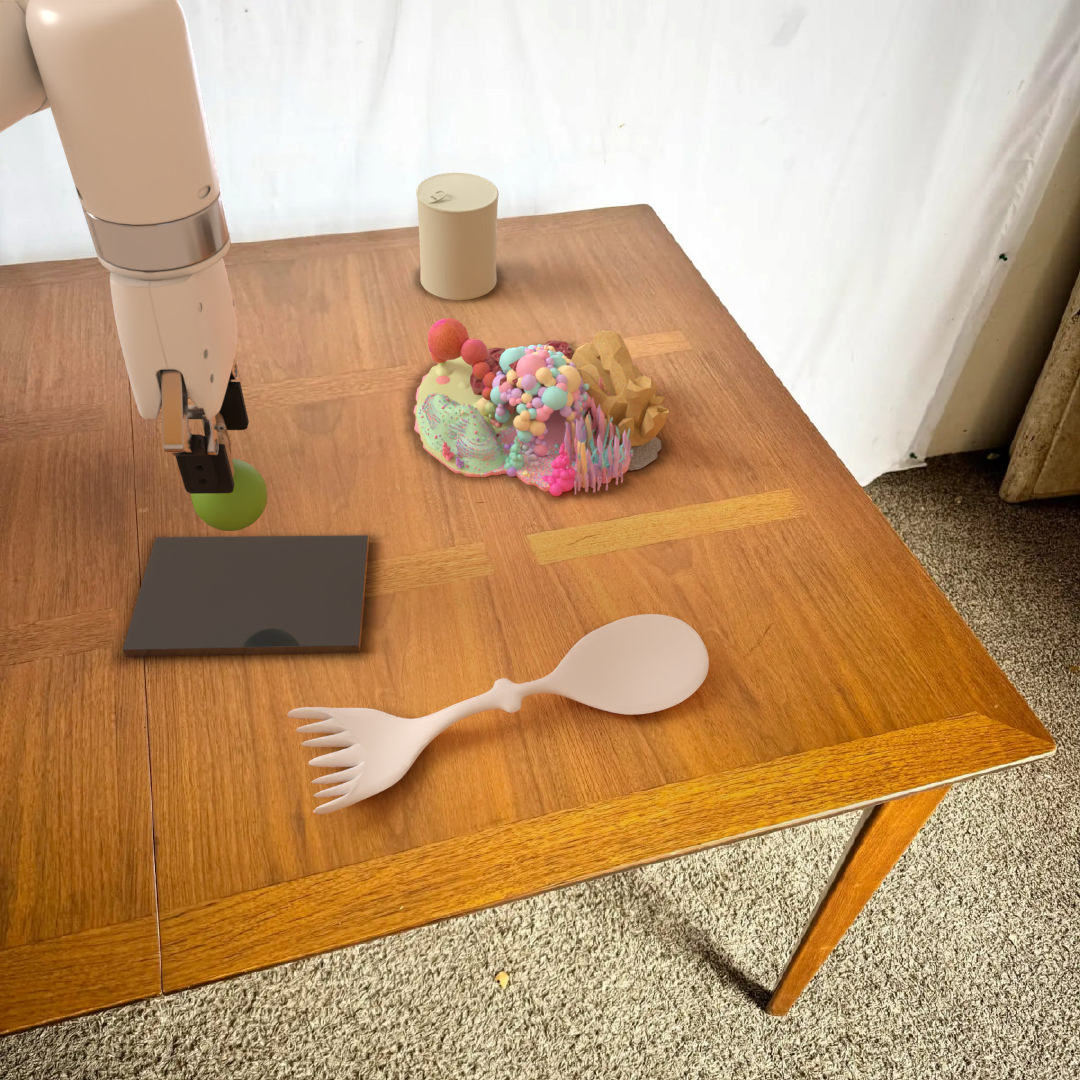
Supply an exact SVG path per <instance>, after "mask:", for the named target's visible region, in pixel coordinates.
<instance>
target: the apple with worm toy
mask: <svg viewBox="0 0 1080 1080" xmlns="http://www.w3.org/2000/svg"><path fill="white" fill-rule="evenodd" d="M215 417H216V425H217V433H218V441H219V444H225V448H226V452H227V456H228V460H229V464H230V468H231V472H232V476H233V480H234V490H233V492H232V493H203V494H192V493H190V500H191V505H192V507H193V509H194V511H195V513H196V515H197V516H198V518H200V519H201V520H202V522H204V523H205V524H206V525H208V526H209V527H211V528H213V529H216V530H218V531H219V530H220V531H226V532H235V531H240V530H244V529H246V528H248V527H250V526H251V525H253V524H254V523H256V521H258V520H259V519H260V517H261V516H262V514H263V513H264V512H265V509H266V506H267V503H268V487H267V483H266V481H265V479H264V477H263V475H262V474H261V472H260V471H258V469H257V468H256V467H255V466H253V465H252V464H251V463H249V462H247V461H244V460H242V459H240V458H233V456H232V443H231V439H230V436H229V432H228V431H229V430H227V428H226V425H225V423H224V419H223V417H222V415H221V414H220V413H219V412H218V413H217V414H216V415H215ZM200 421H201V425H202V430H203V431H204V425H203V419H200ZM203 434H204V435H203V436H205V433H204V432H203Z"/></svg>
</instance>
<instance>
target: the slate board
mask: <svg viewBox="0 0 1080 1080" xmlns="http://www.w3.org/2000/svg"><path fill="white" fill-rule="evenodd" d="M369 548H370V539H369V535H368V534H352V535H351V534H347V535H346V534H344V535H343V534H342V535H341V534H340V535H339V534H337V535H335V534H333V535H248V536H246V535H244V536H243V535H241V536H240V535H239V536H231V535H230V536H155V538H154V541H153V544H152V548H151V550H150V551H151V552H150V554H149V558H148V561H147V565H146V569H145V571H144V576H143V579H142V582H141V585H140V589H139V593H138V594H137V595H138V596H137V599H136V602H135V606H134V610H133V613H132V617H131V620H130V623H129V625H128V629H127V633H126V637H125V640H124V644H123V647H122V652H123V654H124V656H125V658H133V657H134V658H140V657H141V658H144V657H145V658H146V657H149V658H150V657H151V658H152V657H195V656H196V657H197V656H198V657H199V656H244V655H245V656H247V655H250V656H252V655H296V654H297V655H300V654H302V655H303V654H347V653H348V654H352V653H353V654H354V653H356V654H357V653H361V645H362V644H361V643H362V632H363V621H364V620H363V619H364V609H365V596H366V585H367V584H366V583H367V582H366V581H367V572H368V571H367V570H368V561H369V559H368V558H369Z"/></svg>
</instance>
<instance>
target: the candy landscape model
mask: <svg viewBox="0 0 1080 1080" xmlns="http://www.w3.org/2000/svg"><path fill="white" fill-rule="evenodd" d="M427 346H428V350H429V353H430V356H431V359H432V360H433V361H434V362H435V363H437V364H436V365H433V366H432V367H431V368H430V370H429V372H428V373H426V374H425V375H423V376H422V378H421V383H420V385H419V386H418V387H417V388H416V393H415V401H416V404H415V405H414V406H413V407H414V408H413V415H414V416H415V422H414V427H413V428H414V429H413V430H414V431H415V432H416V433H417V434H418V435H419V436H420V438H419V439H420V441H421V443H422V447H423V449H424V450H425V451H426V452H427V453H428V454H430V456H432V457H433V458H435V459H436V460H438V461H439V462H440V463H442V465H444V466H445V467H446V468H448V470H451V471H452V472H453V473H455V474H458V475H460V474H461V475H464V476H466V477H468V478H469V477H470V478H472V477H474V478H487V477H490V476H500V475H503V474H504V475H507V476H508V477H510V478H515V477H516V478H518V479H519V480H520V481H522V482H523V483H524V484H526V485H528V486H535V487H537V488H538V489H540V490H541V491H542V492H549V493H550V495H551V496H553V497H559V496H561V495H562V494H563V493H565V492H569V491H571V490H573V489H574V495H577V492H580V491H581V488H582V489H584V492H585V493H588V492H589V487H590V488H591V489H592V493H596V492H599V491H600V488H601V487H602V485H604V484H605V491H608V489H609V483H610V484H611V482H612V480H613V479H615V485H616V486H618V485H619V478H620V483H621V484H622V483H624V482H623V481H624V474H625V473H627V472H628V471H635V470H641V469H643V468H645V467H646V466H648V465H649V464H651V463H652V462H654V461H655V460H657V459H658V457H659V456H658V453H659V452H660V450H662V440H661V439H659V438H658V436H657V435H658V434H659V433H660V431H661V430H662V429H663V428H664V426H665V424H666V421H667V418H668V415H669V413H670V409H668V408H666V407H665V406H663V405H664V403H665V399H666V396H662V395H661V396H660V395H657V394H656V393H657V390H658V386H659V385H657V384H656V383H655V382H654V381H653V380H652V378H650V377H648V376H646V375H645V374H643V375H642V371H641V370H640V368H639V366H638V365H637V364H633V358H632V356H631V354H630V352H629V349H628V347H627V345H626V342H625V341H624V338H623V337H622V335H621V334H619V333H618V332H617V331H612V330H599V331H597V332H596V333H595V334H594V336H593V340H592V342H587V343H585V344H583V345H580V346H578V347H577V348H576V349H575V351H574V350H573V349H572V348H570V344H569V343H568V342H567V341H560V340H554V339H553V340H547V342H546V343H544V344H542V343H539V344H537V345H536V344H530V345H528V346H524V345H523V346H522V345H520V346H518V347H509V348H506V349H505V348H501V347H494V348H488V347H487V345H486V344H485V342H483V340H482V339H479V338H475V337H474V338H470V336H469V332H468V330H467V327H466V326H465V325H464V324H463V323H462V322H461V321H460V320H458V319H456V318H453V317H445V318H441V319H438V320H436V321H435V322H434V323H433V324H432V325H431V327H430V328H429V331H428V333H427ZM596 483H597V484H596ZM596 485H597V487H596Z"/></svg>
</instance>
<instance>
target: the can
mask: <svg viewBox="0 0 1080 1080" xmlns="http://www.w3.org/2000/svg"><path fill="white" fill-rule="evenodd" d="M415 193H416V195H415V196H416V202H417V216H418V217H417V218H418V238H419V262H420V263H419V264H420V265H419V266H420V283H421V286H422V287H423V289H424V290H425V291H427V292H428V293H429V294H431V295H434V296H436V297H439V298H442V299H445V300H451V301H452V300H454V301H466V300H473V299H476V298H480V297H482V296H486V295H487V294H489V293H490V292H491V291H492V290H493V289H494V288H495V286H496V285H497V239H498V237H497V236H498V205H499V203H498V202H499V189H498V187H497V185H496V184H495V183H494V182H492V181H491V180H489V179H487V178H485V177H482V176H480V175H476V174H473V173H466V172H446V173H445V172H444V173H440V174H435V175H432V176H429V177H427V178H425V179H424V180H422V181H421V182H420V183H419V184H418V185H417V188H416V190H415Z"/></svg>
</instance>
